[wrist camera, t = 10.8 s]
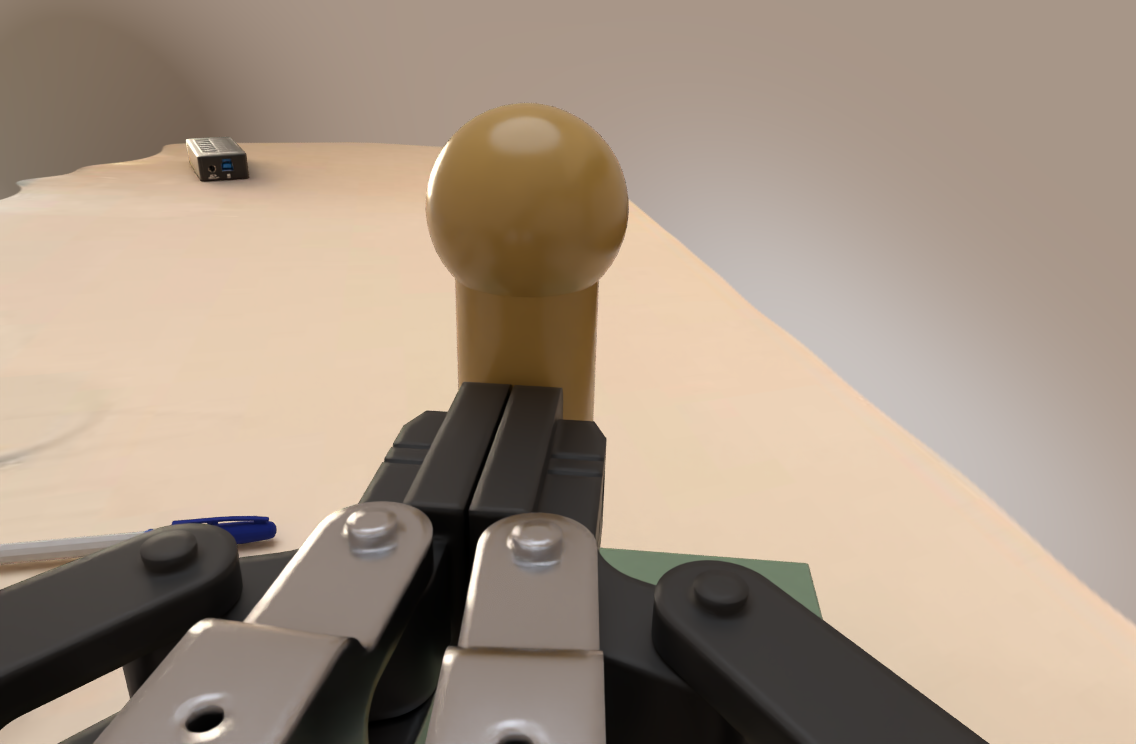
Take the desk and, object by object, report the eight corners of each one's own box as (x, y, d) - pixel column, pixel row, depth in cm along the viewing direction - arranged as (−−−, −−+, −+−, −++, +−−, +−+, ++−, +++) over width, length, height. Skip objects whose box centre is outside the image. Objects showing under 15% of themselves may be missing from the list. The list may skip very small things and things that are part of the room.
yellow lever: (605, 689, 20) (637, 87, 15) (553, 1391, 10) (594, 295, 5) (476, 677, 20) (462, 81, 15) (299, 1353, 10) (59, 266, 5)
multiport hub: (233, 158, 92) (230, 136, 91) (249, 177, 83) (246, 153, 83) (188, 161, 90) (185, 138, 90) (200, 181, 82) (197, 156, 81)
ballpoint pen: (278, 529, 30) (275, 504, 29) (276, 544, 29) (273, 518, 29) (-69, 565, 28) (-78, 539, 27) (-81, 582, 27) (-90, 556, 26)
